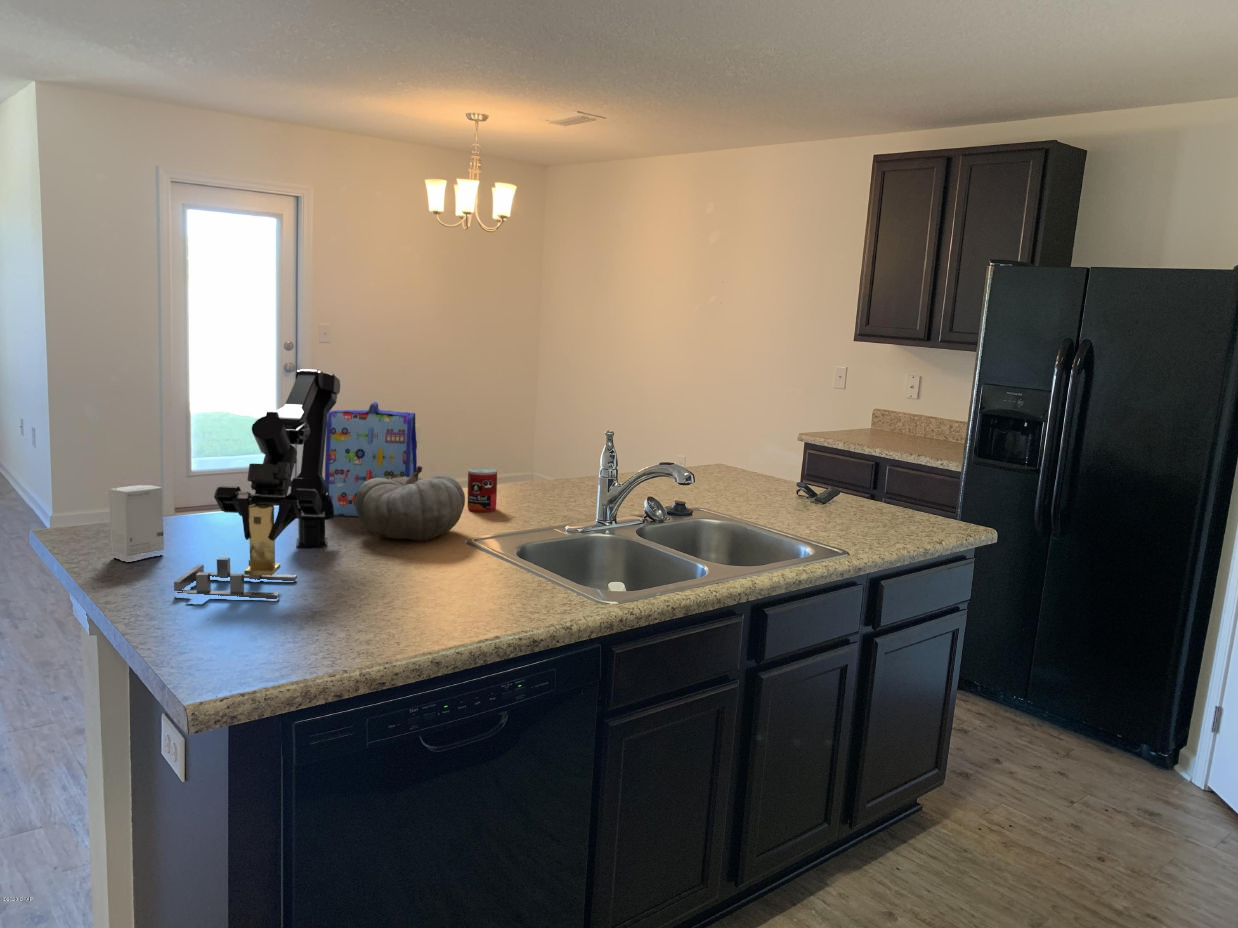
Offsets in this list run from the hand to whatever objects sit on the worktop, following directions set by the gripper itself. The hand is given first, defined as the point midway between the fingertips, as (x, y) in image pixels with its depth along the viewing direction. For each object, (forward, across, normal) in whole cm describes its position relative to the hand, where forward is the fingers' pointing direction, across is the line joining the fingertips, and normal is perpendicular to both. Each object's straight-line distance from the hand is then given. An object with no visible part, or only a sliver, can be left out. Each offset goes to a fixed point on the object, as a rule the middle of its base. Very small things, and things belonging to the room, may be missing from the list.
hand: (259, 539), depth 166 cm
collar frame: (+7, -5, +7) cm, 11 cm away
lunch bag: (-40, +6, +55) cm, 68 cm away
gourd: (-24, +20, +39) cm, 50 cm away
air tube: (+4, 0, +6) cm, 7 cm away
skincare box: (-7, -32, +22) cm, 39 cm away
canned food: (-44, +34, +60) cm, 82 cm away
